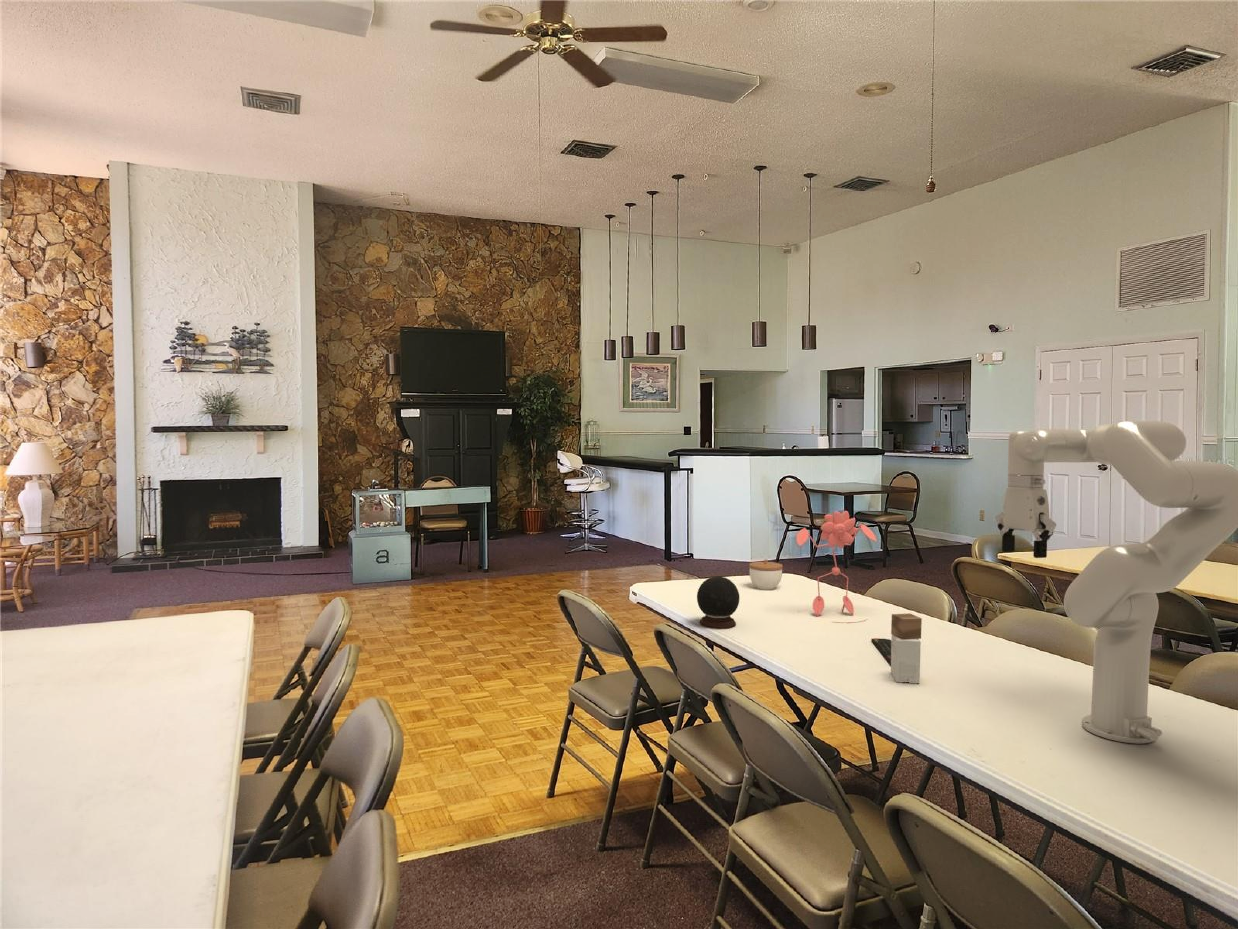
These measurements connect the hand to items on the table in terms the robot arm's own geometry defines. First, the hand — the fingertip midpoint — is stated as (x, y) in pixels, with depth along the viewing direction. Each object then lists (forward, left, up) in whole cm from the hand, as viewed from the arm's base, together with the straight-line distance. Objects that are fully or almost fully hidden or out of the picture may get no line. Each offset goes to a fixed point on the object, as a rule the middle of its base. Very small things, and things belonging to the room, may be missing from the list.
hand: (1023, 554), depth 179 cm
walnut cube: (+11, +24, -22) cm, 34 cm away
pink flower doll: (+69, +11, -32) cm, 77 cm away
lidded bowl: (+115, +16, -32) cm, 120 cm away
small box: (+11, +24, -32) cm, 41 cm away
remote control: (+30, +16, -33) cm, 47 cm away
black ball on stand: (+67, +52, -32) cm, 91 cm away
